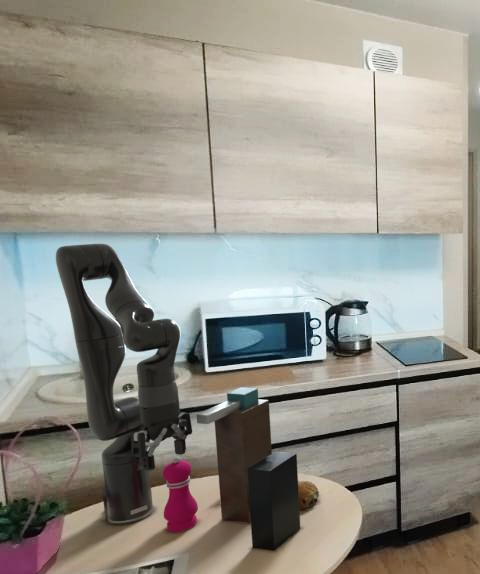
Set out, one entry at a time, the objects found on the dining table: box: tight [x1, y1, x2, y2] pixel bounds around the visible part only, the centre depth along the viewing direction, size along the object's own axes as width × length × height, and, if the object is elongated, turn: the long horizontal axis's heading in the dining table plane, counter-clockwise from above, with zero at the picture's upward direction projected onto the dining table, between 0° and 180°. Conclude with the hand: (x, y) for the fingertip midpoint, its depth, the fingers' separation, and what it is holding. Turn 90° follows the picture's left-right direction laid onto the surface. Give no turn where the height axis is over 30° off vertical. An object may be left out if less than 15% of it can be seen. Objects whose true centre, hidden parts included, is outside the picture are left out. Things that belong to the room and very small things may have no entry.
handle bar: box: [196, 386, 259, 425], centre depth 152 cm, size 5×16×4 cm, turn 175°
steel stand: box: [247, 451, 301, 551], centre depth 150 cm, size 6×10×22 cm, turn 175°
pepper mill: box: [162, 455, 199, 533], centre depth 153 cm, size 7×7×20 cm
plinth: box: [214, 398, 273, 524], centre depth 160 cm, size 8×10×32 cm
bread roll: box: [298, 480, 320, 511], centre depth 169 cm, size 10×10×8 cm
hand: (165, 461), depth 143 cm, fingers open, 8 cm apart
